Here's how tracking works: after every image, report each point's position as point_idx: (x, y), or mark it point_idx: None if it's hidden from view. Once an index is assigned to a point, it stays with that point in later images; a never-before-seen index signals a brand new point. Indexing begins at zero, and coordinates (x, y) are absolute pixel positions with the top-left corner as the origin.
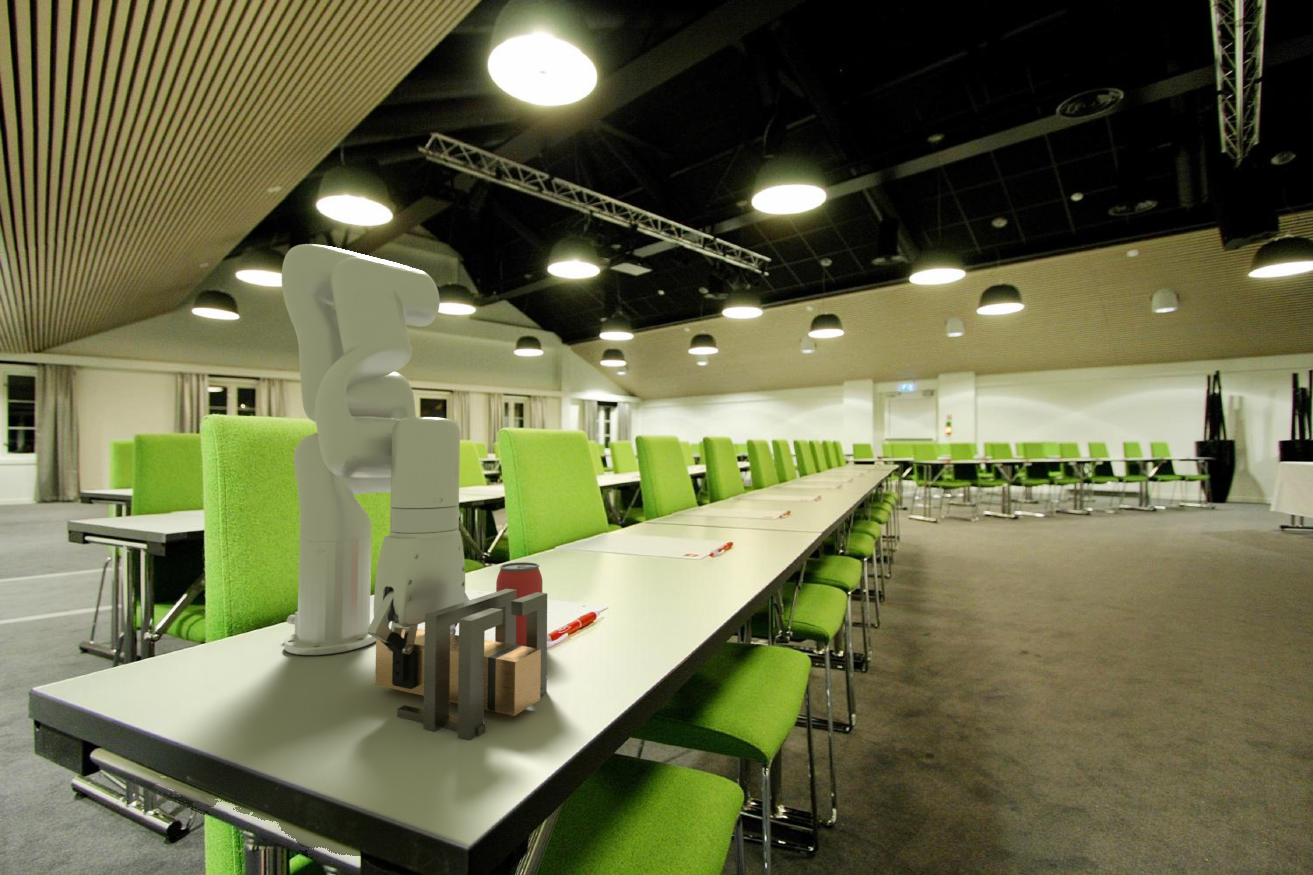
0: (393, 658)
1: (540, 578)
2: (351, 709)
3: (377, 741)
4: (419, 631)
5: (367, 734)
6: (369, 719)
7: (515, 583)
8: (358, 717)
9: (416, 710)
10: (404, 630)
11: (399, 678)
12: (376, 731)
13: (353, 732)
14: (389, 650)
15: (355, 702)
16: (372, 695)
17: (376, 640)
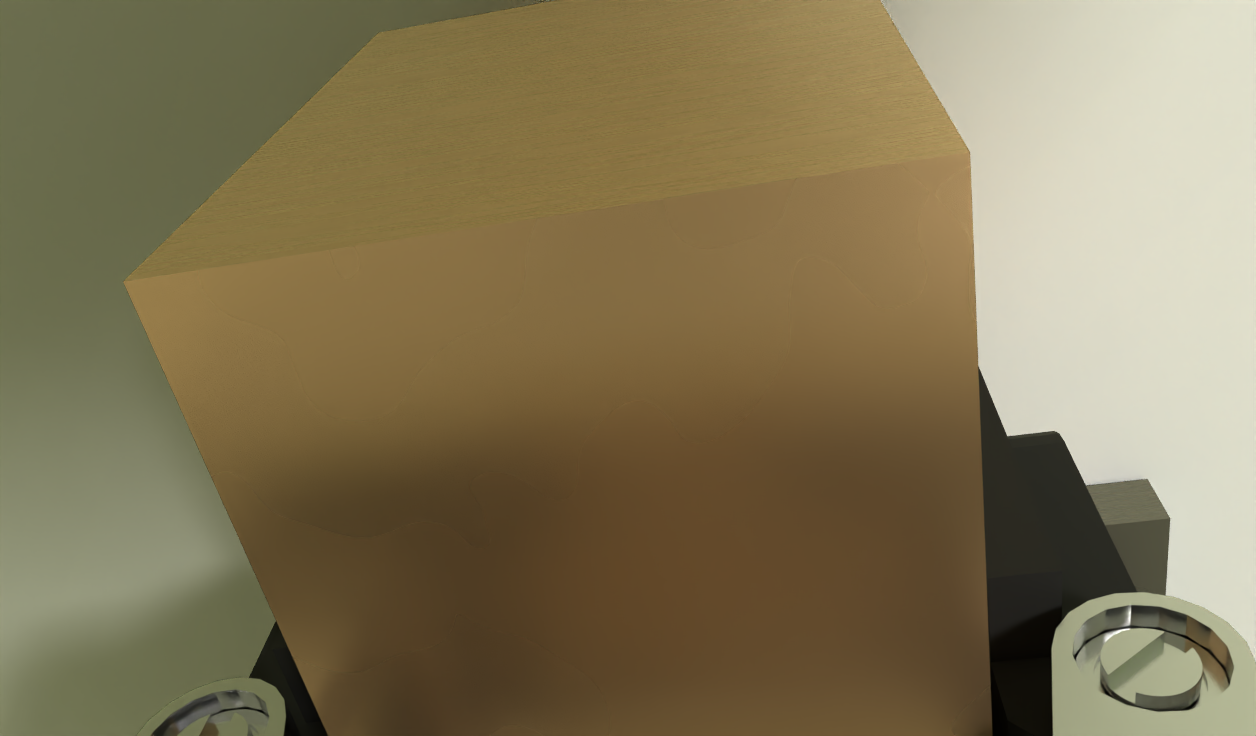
0: (260, 674)
1: None
2: (100, 171)
3: (93, 731)
4: (867, 604)
5: (72, 627)
6: (155, 459)
7: None
8: (100, 365)
9: None
10: (754, 336)
11: None
12: (130, 635)
13: (5, 542)
14: (177, 724)
15: (178, 44)
16: (371, 18)
17: (159, 254)
